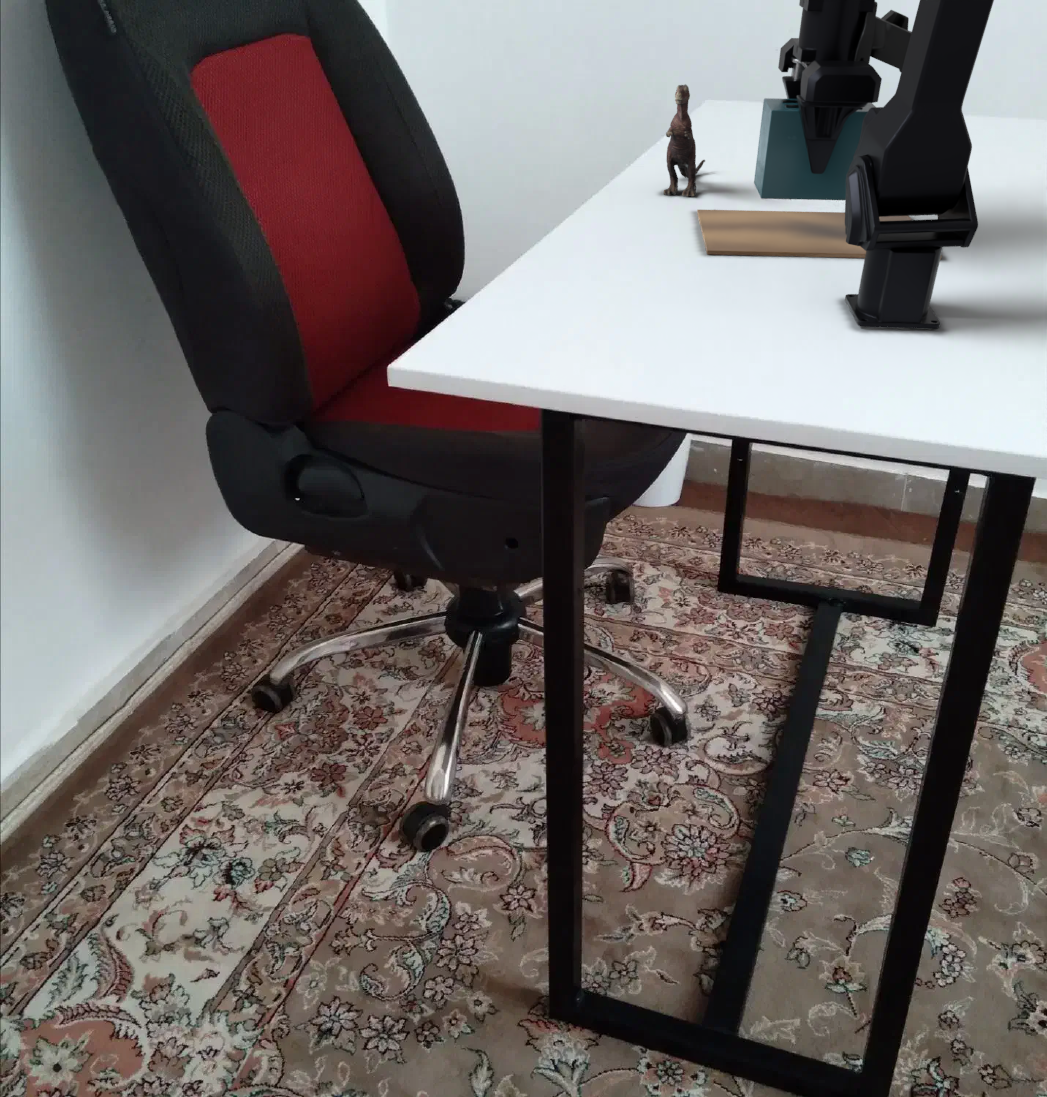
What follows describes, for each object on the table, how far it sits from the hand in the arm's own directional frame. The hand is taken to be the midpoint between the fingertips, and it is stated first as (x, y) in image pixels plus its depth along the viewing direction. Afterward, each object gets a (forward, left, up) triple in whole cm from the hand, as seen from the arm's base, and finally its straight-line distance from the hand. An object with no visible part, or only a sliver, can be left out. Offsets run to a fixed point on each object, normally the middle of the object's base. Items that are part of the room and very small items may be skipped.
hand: (812, 165), depth 100 cm
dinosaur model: (+18, +11, -7) cm, 22 cm away
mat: (0, -1, -7) cm, 7 cm away
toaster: (0, 0, -3) cm, 2 cm away
